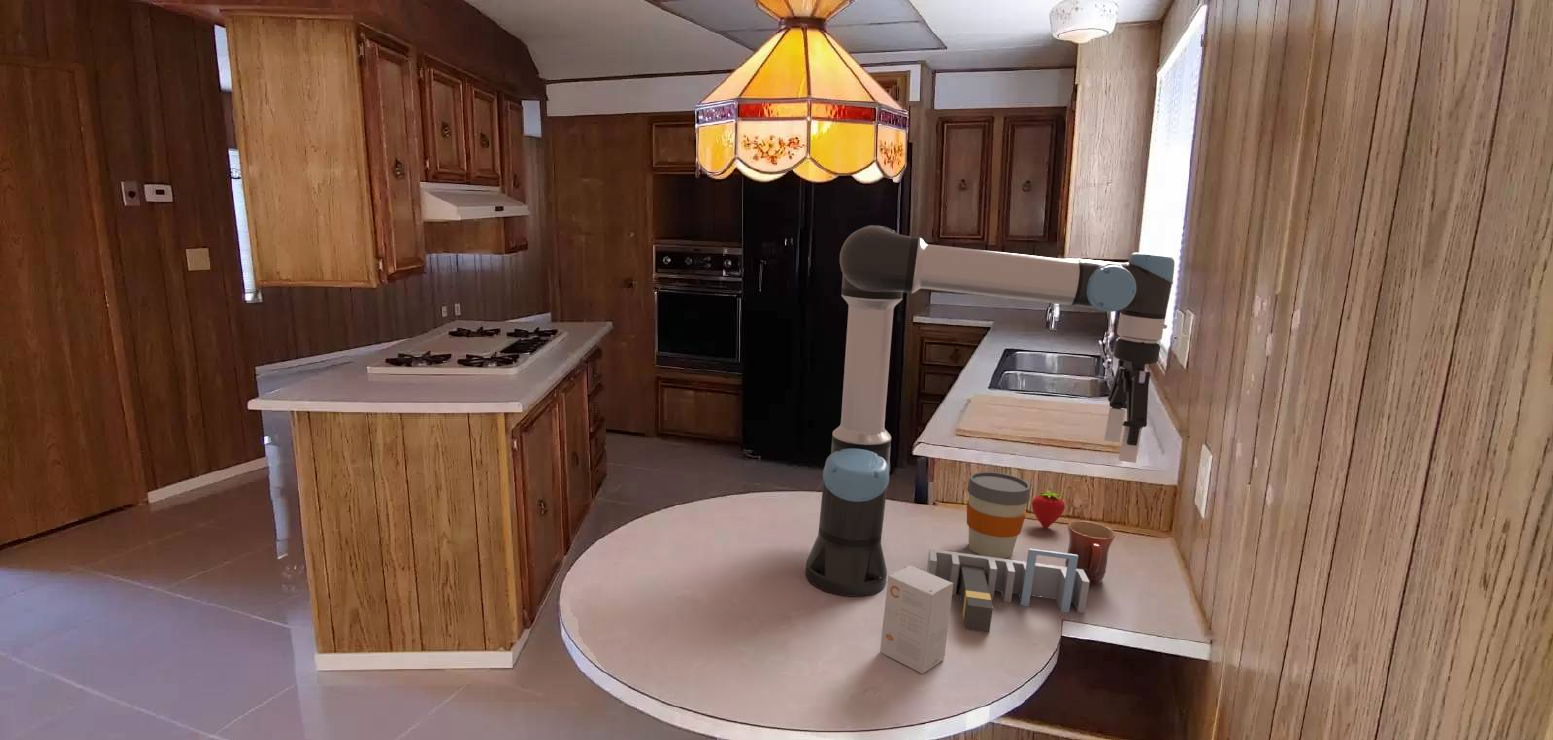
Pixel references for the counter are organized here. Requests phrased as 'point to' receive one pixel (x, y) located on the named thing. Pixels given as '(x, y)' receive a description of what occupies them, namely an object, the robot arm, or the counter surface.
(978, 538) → the reusable coffee cup
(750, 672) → the counter surface
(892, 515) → the counter surface
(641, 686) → the counter surface
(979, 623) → the grey banded bar
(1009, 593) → the grey slotted rack
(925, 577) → the small box
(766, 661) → the counter surface
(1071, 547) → the mug
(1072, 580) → the blue bezel
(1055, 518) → the strawberry
